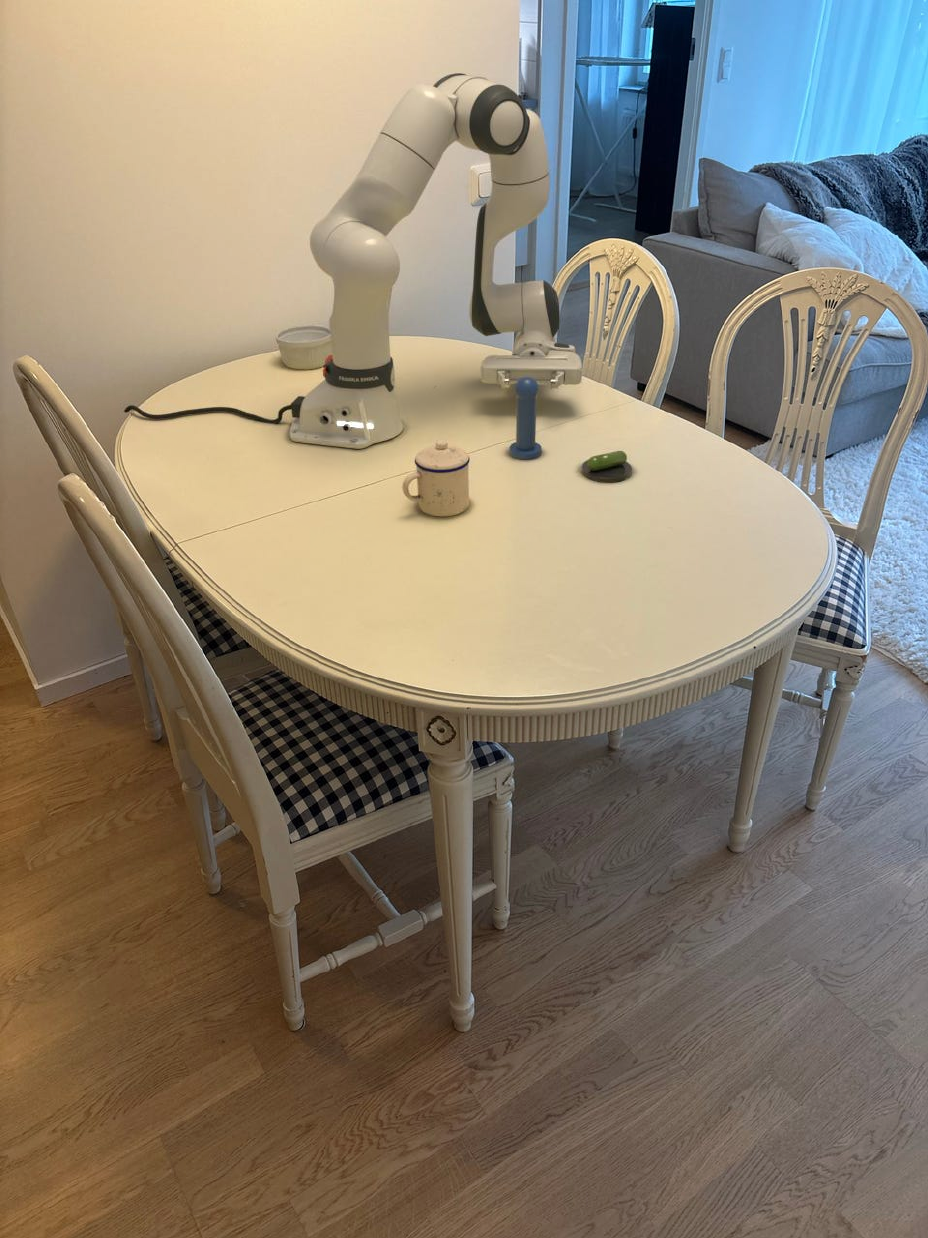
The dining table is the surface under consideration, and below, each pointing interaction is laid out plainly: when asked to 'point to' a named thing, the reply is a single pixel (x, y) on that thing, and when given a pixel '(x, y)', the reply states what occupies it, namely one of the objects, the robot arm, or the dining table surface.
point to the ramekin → (304, 346)
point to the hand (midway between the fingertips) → (529, 384)
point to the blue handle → (526, 420)
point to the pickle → (607, 467)
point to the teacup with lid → (440, 480)
